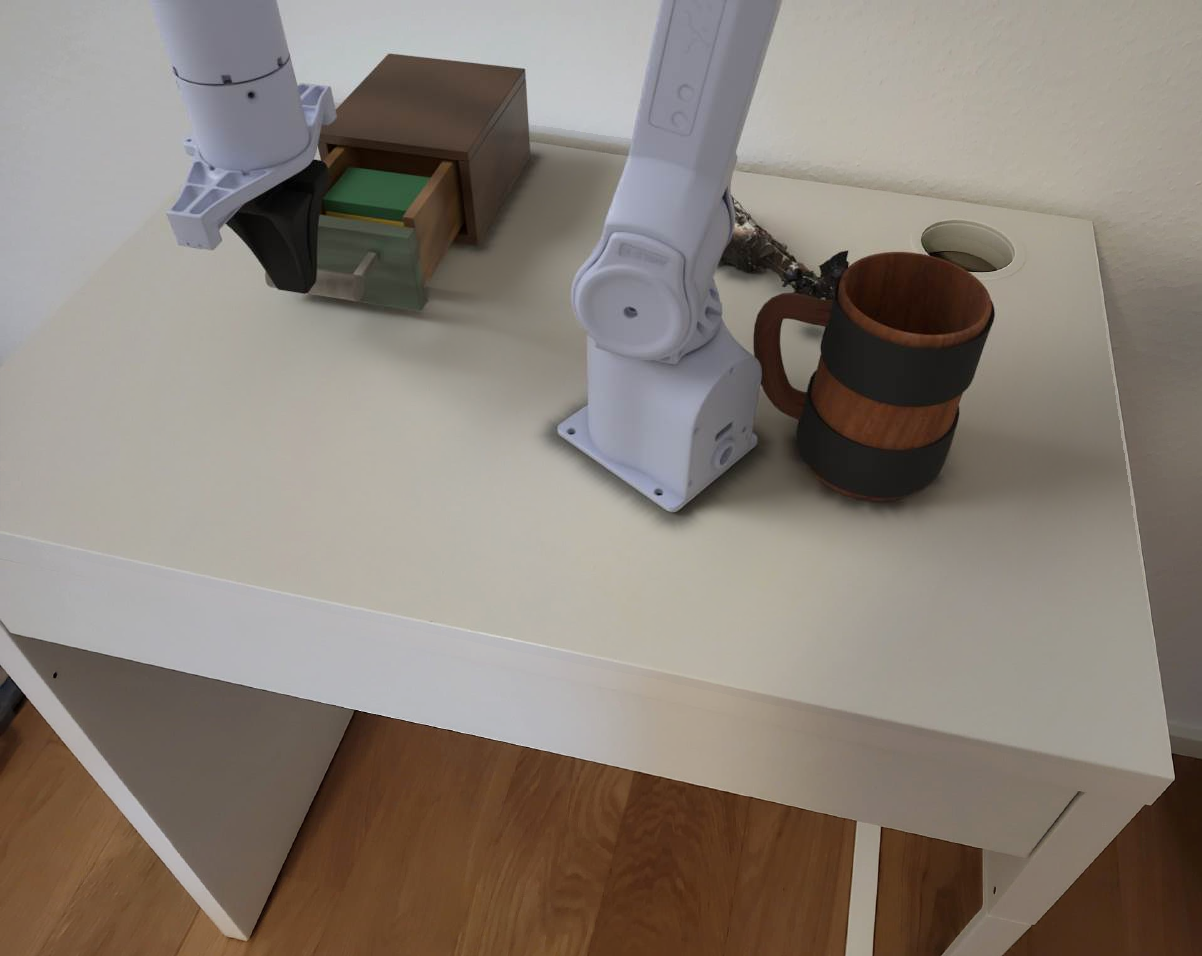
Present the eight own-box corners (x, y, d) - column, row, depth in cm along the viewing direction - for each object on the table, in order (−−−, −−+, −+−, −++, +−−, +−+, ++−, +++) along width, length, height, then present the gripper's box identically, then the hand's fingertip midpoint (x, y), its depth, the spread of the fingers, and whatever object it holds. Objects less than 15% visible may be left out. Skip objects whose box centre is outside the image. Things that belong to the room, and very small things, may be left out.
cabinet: (478, 246, 70) (467, 151, 64) (336, 225, 72) (313, 131, 66) (530, 157, 79) (525, 68, 73) (403, 141, 80) (388, 52, 75)
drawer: (397, 351, 60) (381, 277, 56) (251, 327, 62) (225, 253, 57) (481, 214, 71) (474, 143, 67) (356, 197, 73) (340, 126, 68)
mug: (752, 381, 59) (778, 221, 51) (945, 421, 57) (1006, 260, 48) (723, 475, 54) (747, 314, 45) (935, 524, 51) (1002, 362, 43)
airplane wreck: (824, 355, 61) (841, 286, 57) (651, 229, 71) (655, 162, 67) (885, 324, 63) (905, 255, 59) (709, 205, 74) (716, 139, 69)
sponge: (417, 254, 65) (409, 210, 63) (332, 242, 66) (321, 198, 64) (439, 220, 68) (433, 177, 66) (358, 209, 69) (348, 166, 67)
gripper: (231, -2, 52) (291, 213, 62) (72, 117, 42) (173, 349, 52) (348, 10, 51) (389, 227, 61) (211, 136, 41) (287, 369, 51)
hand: (296, 285), depth 56 cm, fingers closed
